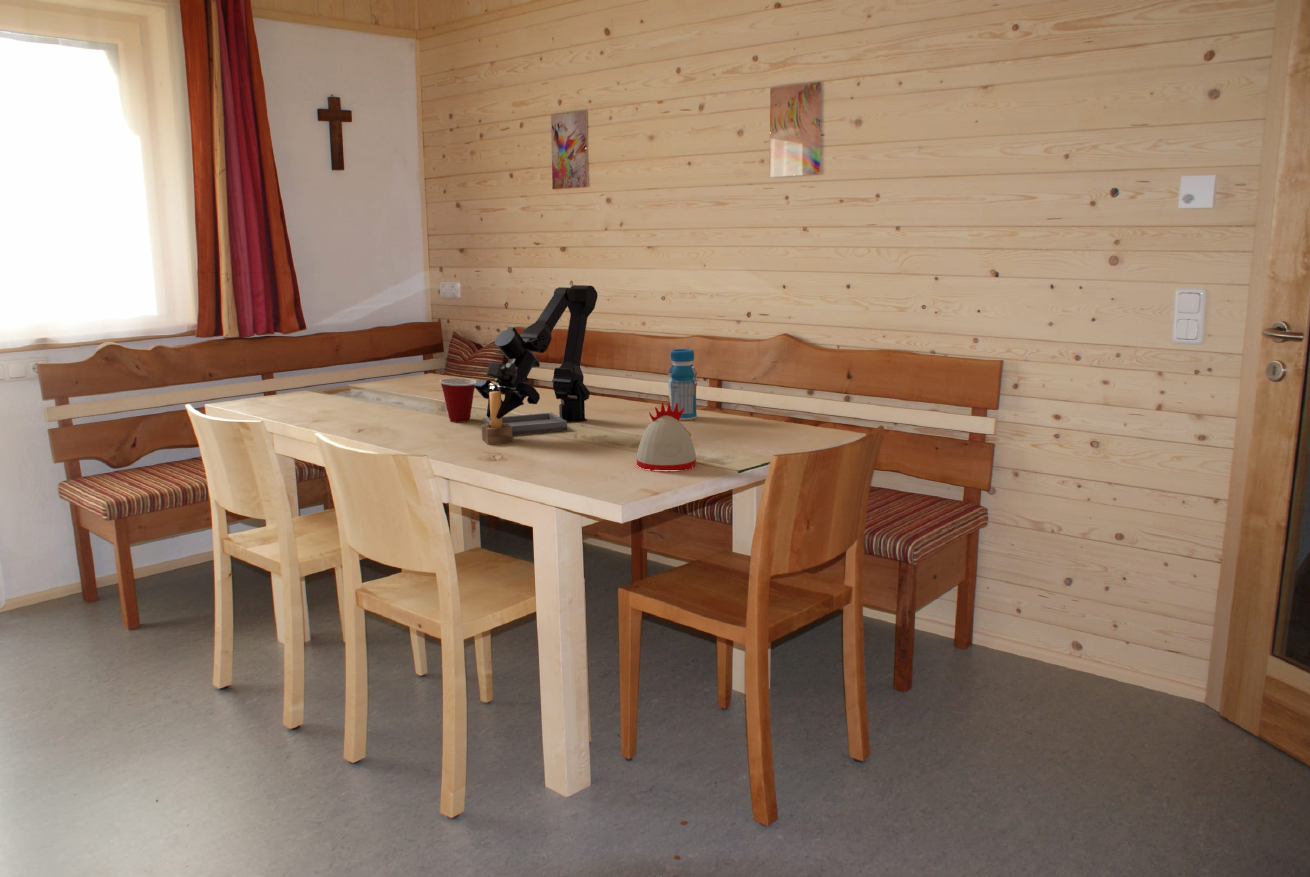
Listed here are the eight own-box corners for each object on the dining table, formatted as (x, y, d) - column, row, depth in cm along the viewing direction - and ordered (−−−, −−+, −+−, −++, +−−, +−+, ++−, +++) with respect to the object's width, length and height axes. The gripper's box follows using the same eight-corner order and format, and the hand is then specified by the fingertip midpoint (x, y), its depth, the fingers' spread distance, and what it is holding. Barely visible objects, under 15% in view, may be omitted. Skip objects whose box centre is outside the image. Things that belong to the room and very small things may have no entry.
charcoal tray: (551, 421, 283) (551, 412, 282) (567, 430, 269) (567, 421, 268) (483, 426, 275) (483, 418, 275) (496, 436, 262) (495, 427, 261)
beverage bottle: (680, 422, 279) (679, 352, 275) (662, 417, 286) (661, 350, 281) (703, 418, 284) (703, 350, 280) (685, 414, 290) (684, 347, 286)
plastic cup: (470, 424, 279) (468, 383, 276) (435, 423, 281) (433, 382, 278) (484, 417, 289) (483, 377, 287) (450, 416, 291) (448, 376, 289)
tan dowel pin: (501, 439, 258) (499, 391, 255) (504, 441, 255) (502, 392, 253) (490, 440, 257) (488, 391, 254) (493, 442, 254) (490, 393, 252)
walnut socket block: (506, 437, 260) (505, 422, 260) (512, 442, 254) (512, 427, 254) (482, 439, 258) (481, 424, 257) (487, 444, 252) (487, 429, 251)
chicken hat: (699, 471, 222) (699, 406, 219) (638, 473, 221) (638, 408, 218) (692, 457, 236) (691, 396, 233) (635, 459, 235) (634, 397, 232)
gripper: (476, 349, 259) (449, 396, 253) (531, 353, 250) (504, 402, 243) (497, 374, 268) (472, 420, 261) (551, 379, 258) (526, 427, 251)
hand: (492, 417), depth 254 cm, fingers closed on tan dowel pin, 3 cm apart
